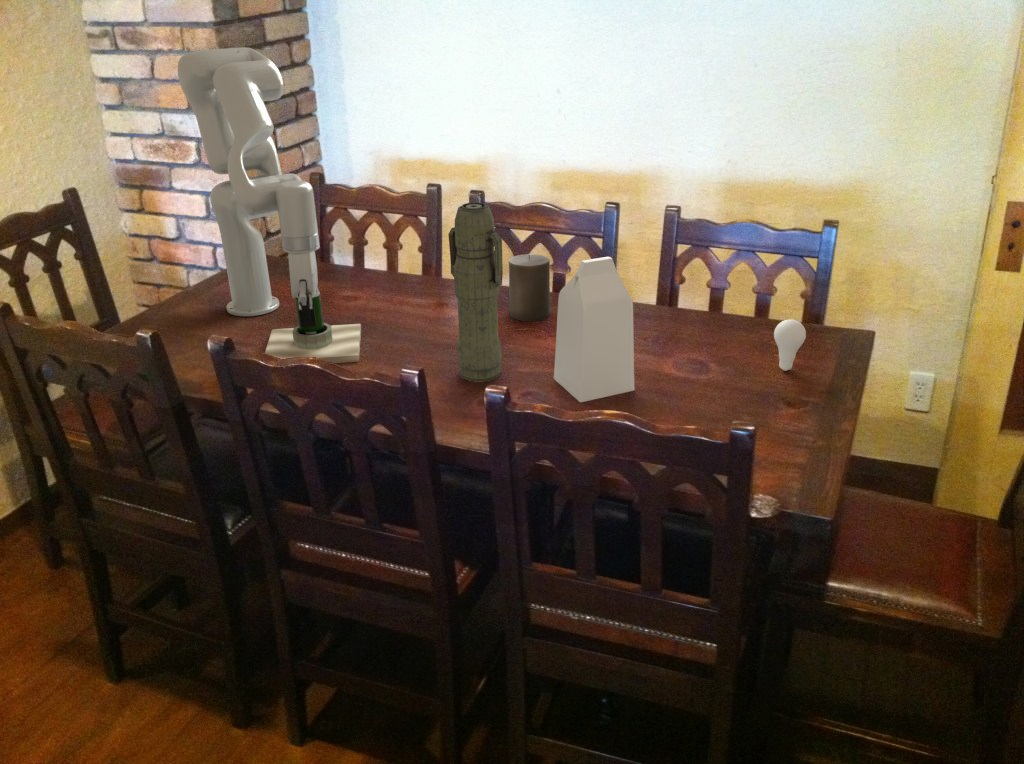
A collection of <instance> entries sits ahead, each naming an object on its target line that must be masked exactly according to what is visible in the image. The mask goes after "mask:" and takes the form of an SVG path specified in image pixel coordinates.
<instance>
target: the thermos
mask: <svg viewBox="0 0 1024 764" xmlns="http://www.w3.org/2000/svg"><path fill="white" fill-rule="evenodd" d="M456 210H457V211H456V214H455V217H454V222H453V223H454V227H451V228H450V230H449V232H448V244H449V247H448V249H449V256H450V257H449V258H450V260H449V261H450V274H451V275H452V277H453V285H454V295H455V298H457V318H458V337H459V338H458V340H457V343H456V351H457V365H458V366H459V367H458V369H459V370H458V374H459V377H460V376H461V377H462V378H463V379H462V378H461V377H460V378H461V379H462V380H464V379H466V380H471V381H484V382H483V383H486V382H485V381H487V382H491V381H490V380H492V381H494V380H495V379H494V378H496V377H498V376H499V375H500V376H501V374H500V373H502V370H501V364H502V343H501V340H500V338H499V323H498V322H499V320H498V317H499V316H498V314H499V313H498V296H499V293H500V287H501V286H502V285H503V274H504V273H503V239H502V238H501V236H500V234H499V232H496V229H495V219H494V215H493V213H492V211H491V208H490V205H487V204H485V203H482V202H467V203H464V204H462V205H460V206H458V208H457V209H456ZM500 376H499V377H500ZM499 377H498V378H499ZM493 379H494V380H493ZM496 379H497V378H496ZM466 380H465V381H466Z"/></svg>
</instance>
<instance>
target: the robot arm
mask: <svg viewBox="0 0 1024 764" xmlns="http://www.w3.org/2000/svg"><path fill="white" fill-rule="evenodd" d="M177 77H178V81H179V83H180V86H181V87H180V88H181V89H182V92H183V94H184V97H185V98H186V99H187V101H188V104H189V105H190V107H191V109H192V111H193V113H194V115H195V118H196V121H197V126H198V129H199V133H200V137H201V141H202V145H203V149H204V154H205V158H206V160H207V163H208V165H209V168H210V169H211V171H213V173H215V174H217V175H228V180H225V181H222V182H219V183H217V184H216V185H215V186H214V187H212V189H211V192H210V194H209V195H210V197H209V199H210V204H211V207H212V210H213V213H214V216H215V219H216V222H217V225H218V230H219V233H220V238H221V243H222V244H221V245H222V250H223V254H224V261H225V266H226V272H227V273H226V274H227V277H228V284H229V291H230V296H231V301H229V302H228V303H227V305H226V311H227V313H229V314H230V315H233V316H238V317H254V316H255V317H256V316H257V317H258V316H261V315H266V314H269V313H271V312H273V311H275V310H277V309H278V308H279V307H280V301H279V298H278V297H276V296H273V295H272V289H271V282H270V275H269V270H268V269H269V267H268V261H267V254H266V249H265V248H266V247H265V242H264V238H263V235H262V232H260V230H259V229H258V228H256V227H255V226H254V225H253V224H252V222H251V220H255V219H259V218H264V217H269V216H274V215H278V223H279V228H280V237H281V242H282V248H283V250H282V251H283V252H285V253H288V254H287V255H288V270H289V281H290V289H291V290H290V291H291V298H293V299H294V300H295V298H296V297H299V316H300V324H301V327H311V326H316V318H315V310H314V308H313V302H312V298H313V297H314V296H315V295H316V290H317V288H318V285H319V284H318V283H319V282H318V281H319V280H318V267H317V258H316V251H317V250H319V249H320V237H319V229H318V219H317V213H316V203H315V195H314V188H313V186H312V185H311V183H310V182H308V181H305V180H303V179H302V178H301V177H299V175H298V174H295V173H283V172H282V167H281V164H280V163H281V162H280V159H279V153H278V152H277V151H278V150H277V147H276V144H275V141H274V139H273V137H272V135H273V133H274V129H275V127H274V123H273V121H272V118H271V117H270V113H269V112H268V109H267V107H266V104H265V102H272V101H276V100H280V99H281V97H282V96H283V95H284V86H285V85H284V80H283V79H284V78H283V77H282V74H281V71H280V69H279V68H278V67H277V65H276V64H275V63H274V62H273V61H272V60H271V59H269V58H268V57H267V56H266V55H264V54H262V53H261V52H259V51H257V50H255V49H253V48H251V47H246V46H245V47H241V46H240V47H229V48H226V47H225V48H211V49H201V50H195V51H190V52H188V53H187V52H186V53H185V54H183V55H181V57H180V58H179V60H178V62H177ZM252 171H256V173H257V175H255V176H249V177H248V174H247V172H252ZM307 293H310V294H307ZM307 299H309V301H308V300H307Z"/></svg>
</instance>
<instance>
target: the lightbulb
mask: <svg viewBox="0 0 1024 764" xmlns="http://www.w3.org/2000/svg"><path fill="white" fill-rule="evenodd" d="M773 331H774V332H773V338H774V341H775V343H776V345H777V348H778V359H779V365H778V367H779V368H780V369H782V371H784V372H787V371H788V370H791V369H793V364H794V360H795V359H796V355H797V352H798V350H799V349H800V348H801V346H802V345H803V344H804V343H805V340H806V339H807V338H806V337H807V331H806V328H805V327H804V325H803V324H802V322H800V321H798V320H796V319H792V318H791V319H790V318H789V319H785V320H782V321H781V322H779V323H778V324H777V325H776V326H775V328H774V330H773Z"/></svg>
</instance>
